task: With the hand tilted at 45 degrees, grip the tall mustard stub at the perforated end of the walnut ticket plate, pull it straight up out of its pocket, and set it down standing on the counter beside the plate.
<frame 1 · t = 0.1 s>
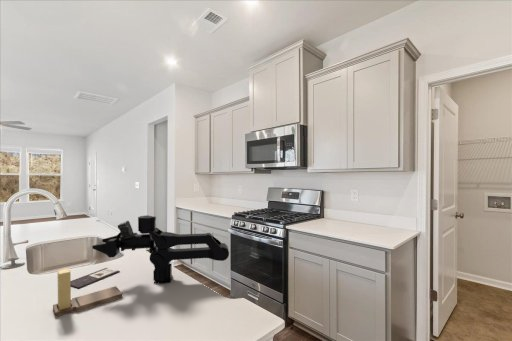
hand: (97, 243, 106), 17 cm above the countertop, tool horizontal, fingers open, 9 cm apart
ticket plate: (64, 310, 87), on the countertop
stub: (64, 290, 87), in the ticket plate
chocolate bar: (93, 279, 113), on the countertop
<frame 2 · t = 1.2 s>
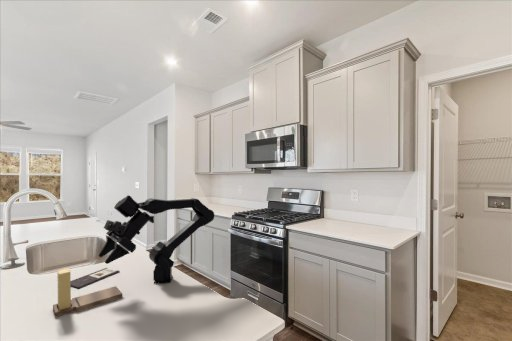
hand: (102, 259, 95), 14 cm above the countertop, tool tilted 45°, fingers open, 9 cm apart
nothing on the countertop moved.
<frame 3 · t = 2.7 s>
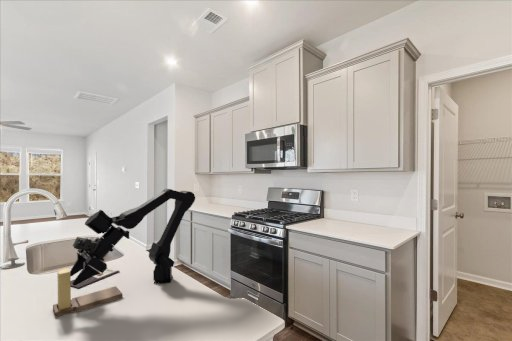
hand: (71, 280, 89), 9 cm above the countertop, tool tilted 45°, fingers open, 9 cm apart
nothing on the countertop moved.
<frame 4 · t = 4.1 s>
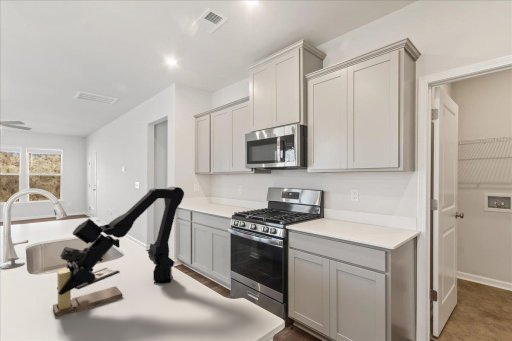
hand: (58, 291, 86), 7 cm above the countertop, tool tilted 45°, fingers closed on stub, 4 cm apart
stub: (64, 290, 87), in the ticket plate, touching gripper
everything else where it was.
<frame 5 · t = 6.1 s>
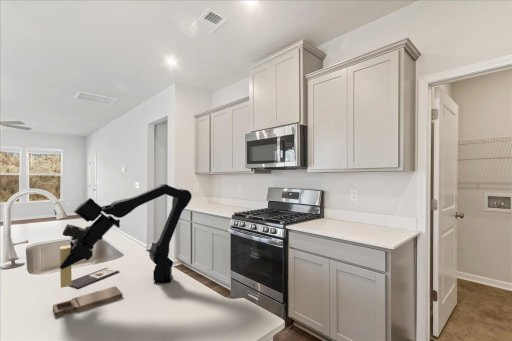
hand: (61, 266, 90), 13 cm above the countertop, tool tilted 45°, fingers closed on stub, 4 cm apart
stub: (65, 265, 91), point 13 cm above the countertop, touching gripper
everything else where it was.
when the fingers open (8 cm above the countertop, at t = 8.2 s): stub stays where it is, on the countertop.
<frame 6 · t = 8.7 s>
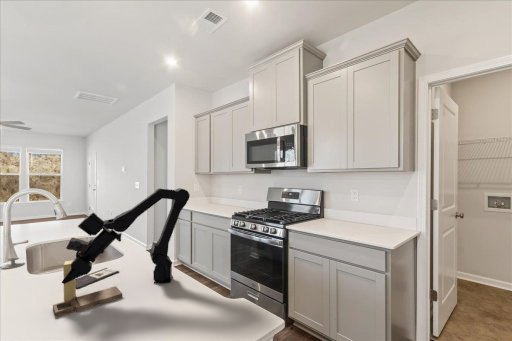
hand: (65, 278, 95), 8 cm above the countertop, tool tilted 45°, fingers open, 9 cm apart
stub: (69, 280, 95), on the countertop
everything else where it was.
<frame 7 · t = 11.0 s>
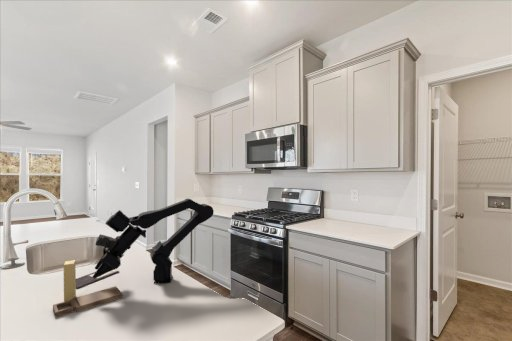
hand: (94, 273, 99), 8 cm above the countertop, tool tilted 45°, fingers open, 9 cm apart
nothing on the countertop moved.
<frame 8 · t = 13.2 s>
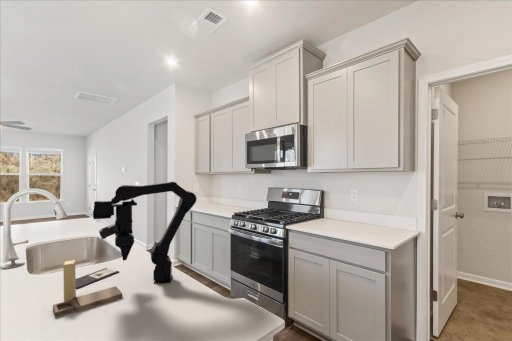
hand: (124, 256, 104), 12 cm above the countertop, tool pointing down, fingers open, 9 cm apart
nothing on the countertop moved.
at the end: stub 0.0 cm from the target spot, on the countertop; stub tilted 0°; the gripper is holding nothing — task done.
